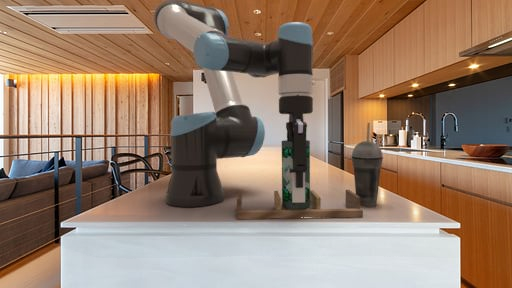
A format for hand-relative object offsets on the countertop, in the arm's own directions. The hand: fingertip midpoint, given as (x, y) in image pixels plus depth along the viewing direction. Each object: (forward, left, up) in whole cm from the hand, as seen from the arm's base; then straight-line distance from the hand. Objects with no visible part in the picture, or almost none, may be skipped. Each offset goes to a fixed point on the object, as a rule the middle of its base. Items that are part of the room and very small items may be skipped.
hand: (296, 197), depth 69 cm
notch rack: (0, 0, -3) cm, 3 cm away
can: (0, 0, -2) cm, 2 cm away
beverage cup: (+14, +13, -3) cm, 19 cm away
